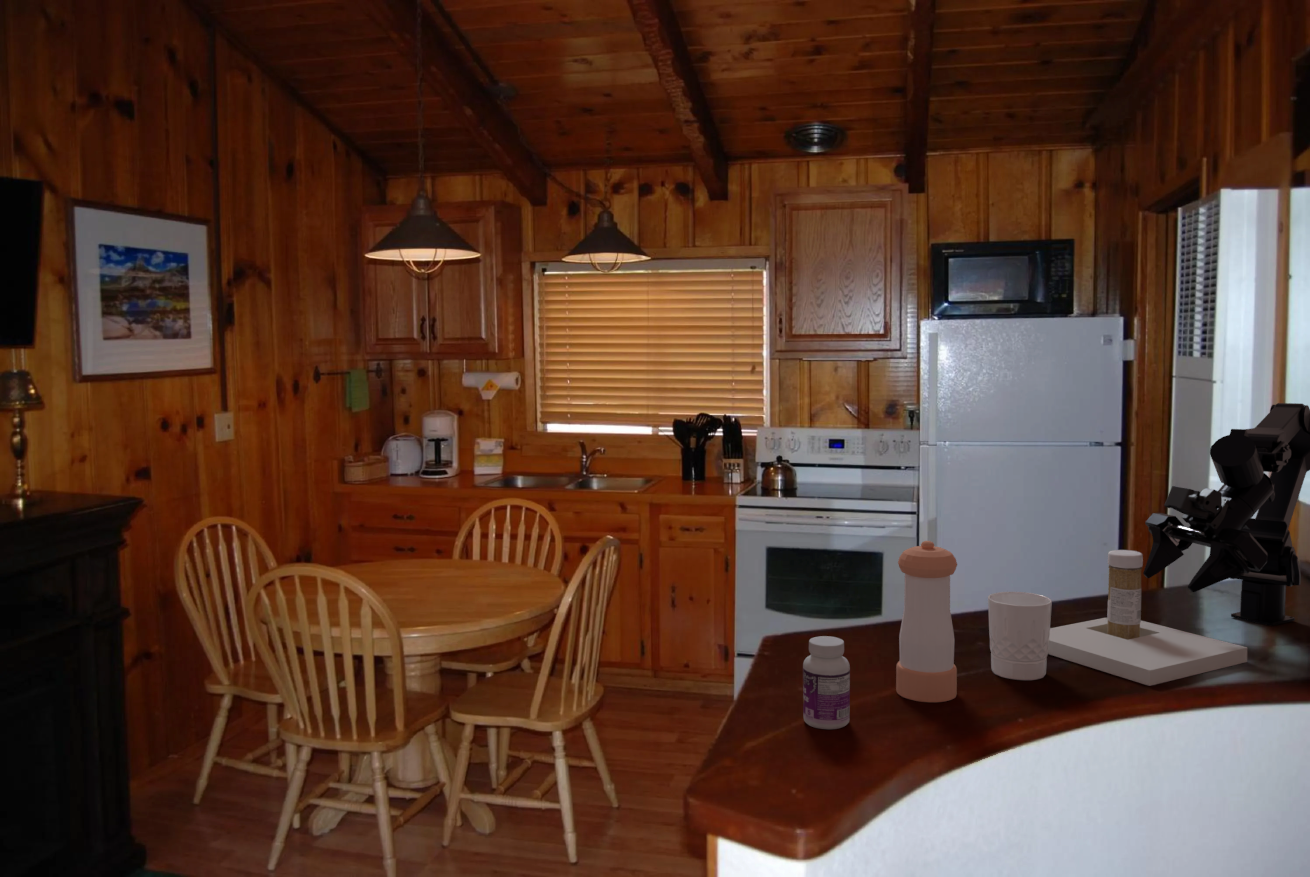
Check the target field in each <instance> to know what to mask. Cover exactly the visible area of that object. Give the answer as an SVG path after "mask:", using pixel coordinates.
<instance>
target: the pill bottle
mask: <svg viewBox="0 0 1310 877" xmlns="http://www.w3.org/2000/svg"><path fill="white" fill-rule="evenodd" d="M808 652H809V653H810V655H807V657H805V659H804V660H803V663H802V690H803V691H802V694H803V695H802V702H803V703H802V705H803V706H802V709H803V710H802V711H803V712H802V713H803V716H802V717H803V721H804V722H805V724H806V725H808V726H810V727H813V728H815V729H821V730H837V729H839V730H840V729H841V728H844V727H845V726H847V725H848V724H849V723H850V718H851V717H850V713H851V712H850V707H851V706H850V704H851V703H850V702H851V701H850V697H851V696H850V695H851V691H850V690H851V689H850V688H851V685H850V684H851V666H850V662H849V660H848V659H847V657H845V656H843V655H844V653H845V641H844V640H843V639H842V638H840V637H836V636H830V635H829V636H827V635H822V636H821V635H820V636H815V637H811V638H810V639H809V640H808Z"/></svg>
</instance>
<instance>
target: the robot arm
mask: <svg viewBox="0 0 1310 877" xmlns="http://www.w3.org/2000/svg"><path fill="white" fill-rule="evenodd" d="M1209 455H1210V458H1211V461H1212V462H1213V467H1214V468H1215V471H1216V474H1217V475H1218V476H1217V477H1218V478H1219V481H1220V483H1222V485H1221V487H1220V488H1219V489H1217V490H1216V489H1213V488H1207V487H1205V488H1203V489H1202V490H1201V491H1200V490H1194V489H1191V488H1189V487H1181V486H1176V485H1175V486H1174V485H1172V486H1171V488H1170V489H1169V490H1170V491H1169V493H1168V495H1167V498H1166V500H1165V503H1164V504H1163V506H1164V507H1166V508H1168V509H1173V510H1175V511H1177V512H1180V513H1181V514H1182V516H1181V519H1183V521H1184V522H1185V523H1187V524H1188V525H1189V526H1188V527H1186V526H1185V525H1184V524H1183V522H1181V520H1180V519H1179V518H1178V517H1177V516H1176V515H1172V514H1167V513H1163V512H1155V513H1154V512H1153V513H1151V515H1150V516H1149V517H1148V519H1147V520H1145V521H1144V522H1145V526H1147V528H1148V532H1149V533H1150V534H1151V536H1152V545H1151V549H1150V553H1149V555H1148V558H1147V561H1146V564H1145V566H1144V570H1143V571H1142V574H1143V576H1145V578H1147V579H1150V578H1152V577H1154V576H1155V575H1157V574H1158V573H1160V572H1161V571H1163V570H1165V569H1166V568H1167V567H1168V566H1170V565H1171V564H1172V563H1174V562H1176V561H1178V559H1180V558H1181V557H1183V556H1185V553H1184V552H1183V551H1185V550H1187V549H1190V547H1191V546H1192V544H1195V545H1201V546H1203V547H1208V548H1210V549H1209V555H1208V557H1207V558H1206V560H1205V561H1204V563H1203V564H1202V565H1201V566H1200V568H1199V570H1197V572H1196V573H1195V575H1193V577H1192V578H1191V580H1190V582H1189V584H1188V585H1187V589H1188V590H1189V591H1190V592H1191V593H1196V592H1198V591H1200V590H1203V589H1205V588H1208V587H1210V586H1213V585H1215V584H1217V583H1220V582H1223V581H1225V580H1228V579H1231V580H1241V589H1240V590H1241V591H1240V606H1239V607H1240V608H1239V609H1240V610H1239V611H1237V612H1232V613H1230V617H1231V618H1234V619H1238V620H1243V621H1248V622H1252V623H1257V624H1261V625H1264V626H1273V627H1274V626H1276V625H1282V624H1285V623H1290V622H1294V621H1296V620H1295V619H1296V618H1295V617H1294V616H1289V615H1286V593H1287V587H1291V588H1292V587H1293V586H1300V585H1301V577H1302V576H1301V567H1300V562H1299V557H1298V556H1297V553H1296V550H1295V547H1294V546H1293V541H1292V538H1291V533H1290V530H1289V529H1290V528H1289V527H1290V524H1291V522H1292V519H1293V515H1294V512H1295V510H1296V506H1297V503H1298V501H1299V500H1298V499H1299V496H1300V493H1301V490H1302V488H1303V484H1304V481H1305V477H1306V475H1307V473H1308V472H1310V406H1309V405H1308V404H1306V405H1305V404H1304V403H1295V402H1294V403H1291V402H1290V403H1287V402H1278V403H1275V404H1271V406H1270V409H1269V413H1267V415H1265V417H1264V418H1263V419H1262V420H1261V421H1260V422H1259V423H1258V424H1257V425H1256V426H1255V427H1252V428H1245V429H1244V428H1240V429H1239V428H1231V429H1230V432H1229V434H1228V435H1225V436H1222V437H1220V438H1219V439H1217V440H1216V441H1215V442H1214V443H1213V444H1212V445H1211V446H1210V450H1209ZM1267 472H1269V473H1270V475H1267V474H1266V473H1267ZM1255 514H1256V516H1255ZM1254 516H1255V518H1253V517H1254Z"/></svg>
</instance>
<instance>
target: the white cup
mask: <svg viewBox="0 0 1310 877" xmlns="http://www.w3.org/2000/svg"><path fill="white" fill-rule="evenodd" d="M987 602H988V603H987V604H988V605H987V606H988V630H989V631H988V633H989V649H990V652H991V653H990V667H991V669H990V670H991V671H992V673H993V674H994V675H996V676H999V677H1001V678H1005V679H1008V680H1009V679H1010V680H1016V681H1036V680H1040V679H1044V677H1046V674H1047V660H1048V658H1047V657H1048V655H1049V654H1048V644H1049V636H1050V628H1051V618H1052V617H1051V616H1052V604H1053V603H1052V602H1053V600H1052V599H1051V598H1049V597H1048V596H1044V595H1042V594H1037V593H1033V592H1026V591H1025V592H1023V591H1022V592H1021V591H1000V592H995V593H991V594H989V595H988V596H987Z"/></svg>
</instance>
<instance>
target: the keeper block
mask: <svg viewBox="0 0 1310 877" xmlns="http://www.w3.org/2000/svg"><path fill="white" fill-rule="evenodd" d="M1107 630H1108V620H1107V617H1101V618H1097V619H1091V620H1086V621H1081V622H1076V623H1071V624H1066V625H1060V626H1056V627H1050V636H1049V644H1048V655H1050V656H1052V657H1053V656H1054V657H1055V658H1060V659H1063V660H1066V661H1069V662H1073V663H1075V664H1079V665H1082V666H1085V667H1088V668H1092V669H1095V670H1097V671H1101V672H1104V673H1107V674H1111V675H1113V676H1117V677H1120V678H1123V679H1126V680H1130V681H1133V682H1136V683H1138V684H1142V685H1145V686H1156V685H1159V684H1164V683H1167V682H1170V681H1175V680H1179V679H1183V678H1187V677H1192V676H1196V675H1200V674H1202V673H1203V674H1204V673H1207V672H1212V671H1215V670H1219V669H1224V668H1228V667H1231V666H1236V665H1240V664H1244V663H1247V662H1248V647H1247V646H1243V645H1240V644H1237V643H1236V644H1235V643H1232V642H1228V641H1222V640H1220V639H1215V638H1211V637H1208V636H1203V635H1200V634H1195V633H1191V632H1188V631H1183V630H1180V629H1176V628H1172V627H1168V626H1164V625H1161V624H1156V623H1153V622H1148V621H1145V620H1141V623H1140V637H1138V638H1133V639H1129V640H1127V639H1123V638H1120V637H1116V636H1112V635H1109V634H1107V632H1108V631H1107Z"/></svg>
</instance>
